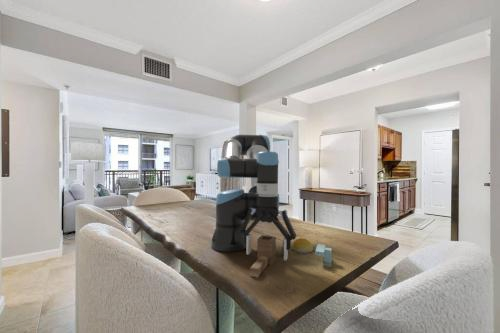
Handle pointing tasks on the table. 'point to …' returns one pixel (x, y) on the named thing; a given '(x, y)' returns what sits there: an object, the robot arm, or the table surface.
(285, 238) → the pintle
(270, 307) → the table surface
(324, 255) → the keeper
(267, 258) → the wooden step block
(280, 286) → the table surface
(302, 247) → the bread roll
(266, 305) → the table surface
